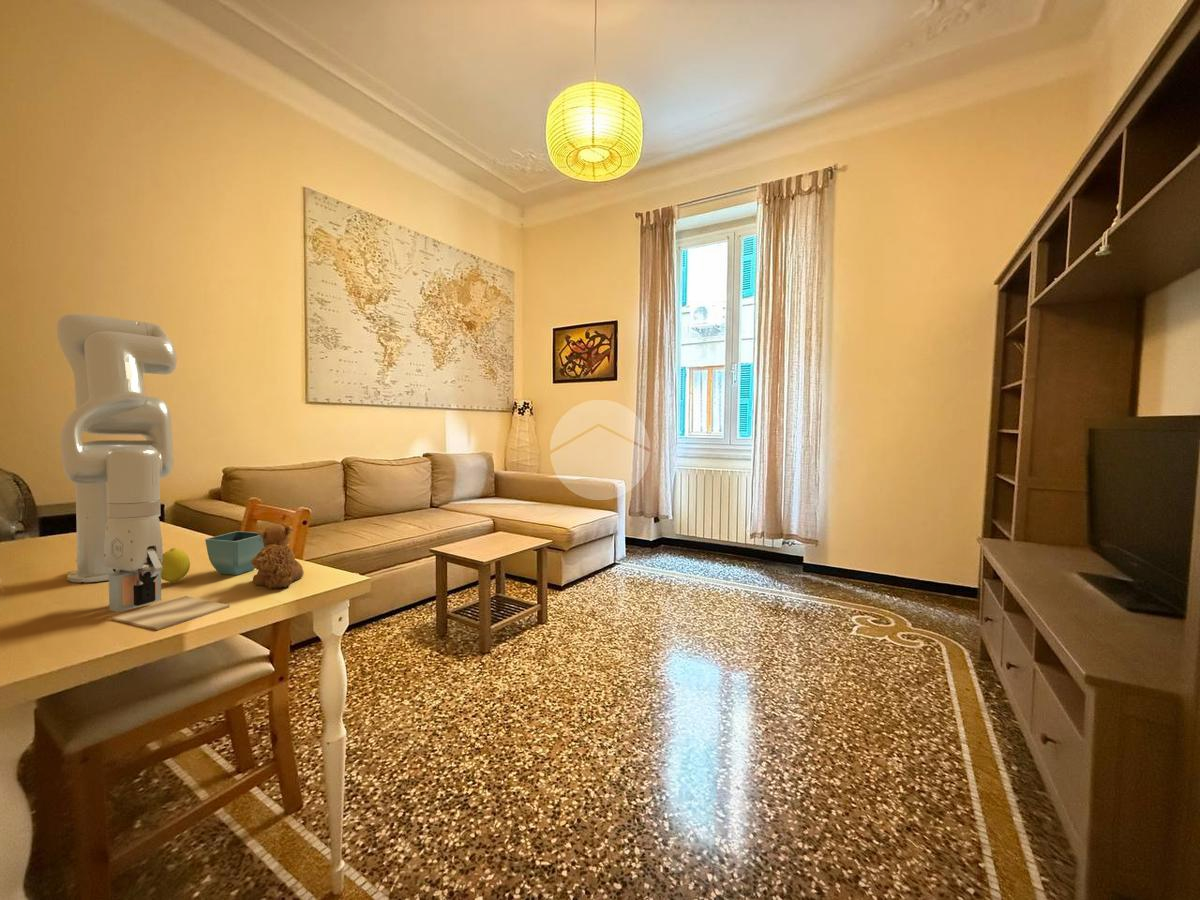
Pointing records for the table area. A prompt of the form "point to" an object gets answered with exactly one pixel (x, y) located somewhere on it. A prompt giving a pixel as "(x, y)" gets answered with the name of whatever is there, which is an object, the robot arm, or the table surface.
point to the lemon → (174, 565)
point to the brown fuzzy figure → (276, 559)
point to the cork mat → (170, 612)
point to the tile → (127, 590)
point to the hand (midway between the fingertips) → (136, 600)
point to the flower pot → (233, 551)
